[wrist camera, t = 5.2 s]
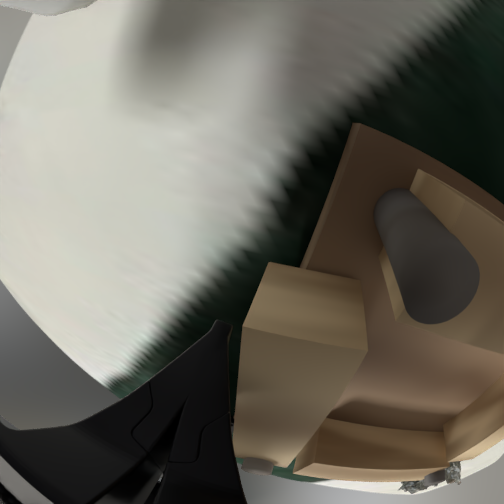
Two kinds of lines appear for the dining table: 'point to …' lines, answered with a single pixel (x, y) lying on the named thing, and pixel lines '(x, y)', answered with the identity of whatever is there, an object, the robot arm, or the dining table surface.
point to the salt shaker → (47, 5)
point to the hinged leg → (294, 361)
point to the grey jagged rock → (450, 475)
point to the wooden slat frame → (412, 315)
